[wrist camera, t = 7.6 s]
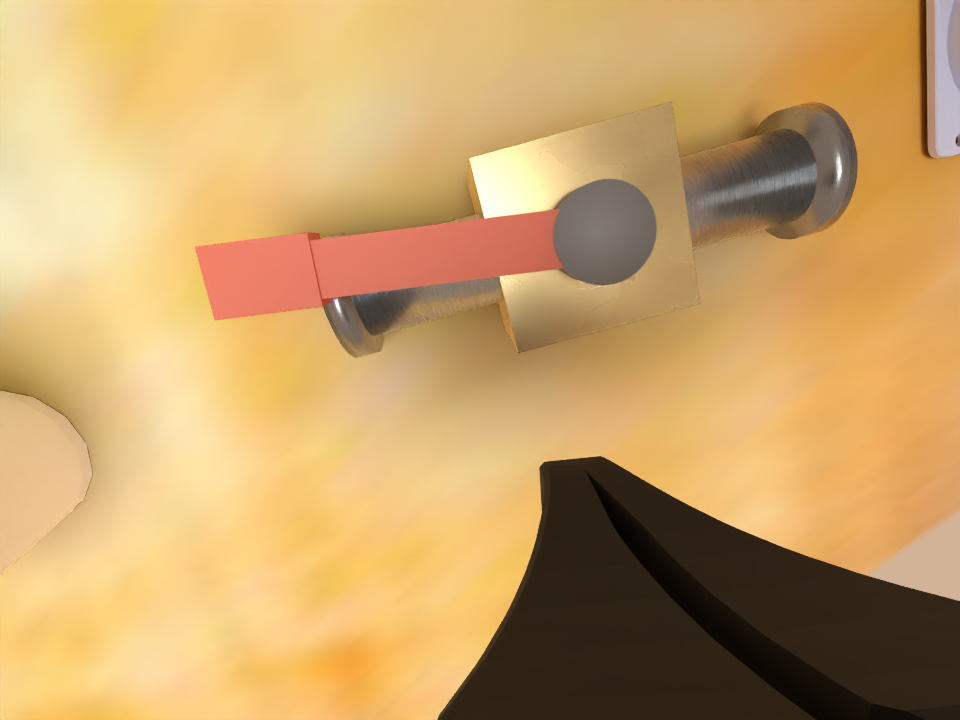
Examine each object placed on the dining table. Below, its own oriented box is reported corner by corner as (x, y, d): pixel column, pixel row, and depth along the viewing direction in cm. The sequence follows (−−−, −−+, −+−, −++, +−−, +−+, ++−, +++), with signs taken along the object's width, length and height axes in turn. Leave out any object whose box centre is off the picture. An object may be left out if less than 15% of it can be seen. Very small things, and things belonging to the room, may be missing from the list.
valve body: (756, 99, 18) (864, 47, 13) (771, 254, 19) (873, 256, 14) (329, 219, 18) (284, 210, 13) (377, 361, 19) (351, 397, 15)
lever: (637, 178, 13) (655, 172, 12) (640, 275, 14) (657, 278, 13) (212, 232, 13) (187, 231, 12) (237, 327, 14) (215, 335, 13)
